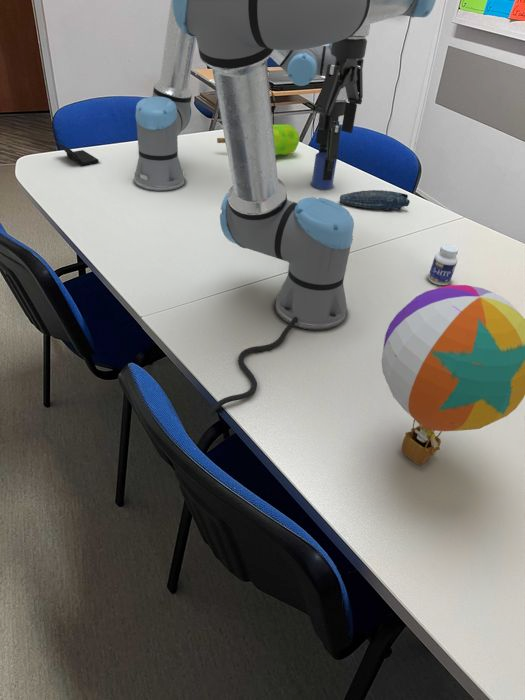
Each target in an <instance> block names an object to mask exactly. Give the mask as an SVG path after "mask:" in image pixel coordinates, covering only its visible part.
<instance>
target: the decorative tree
mask: <svg viewBox="0 0 525 700" xmlns="http://www.w3.org/2000/svg"><path fill="white" fill-rule="evenodd" d="M273 133H274V144H275V155H276V156H277V155H278V156H279V155H280V156H289V155H290V154H292V153H295V151H296V150H297V148H298V145H299V143H300V134H299V131H298V130H296V129H295V127H294V126H293V125H291V124H273ZM216 142H217V144H226V143H225V137H217V138H216Z"/></svg>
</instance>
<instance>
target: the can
mask: <svg viewBox="0 0 525 700" xmlns="http://www.w3.org/2000/svg"><path fill="white" fill-rule="evenodd" d="M324 158H327V153H326V152H321V153H319V152H317V153H315V157H314V165H313V172H312V179H311V186H312V187H313V188H314V189H318V190H330V189H332V188H333V185H334V178H335V172H336V166H337V161H338V159H337V160H334V166H333V172H332V178H331V180H323V172H324V165H325V160H324Z"/></svg>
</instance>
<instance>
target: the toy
mask: <svg viewBox="0 0 525 700" xmlns="http://www.w3.org/2000/svg"><path fill="white" fill-rule="evenodd" d="M381 369H382V370H381V371H382V373H383V376H384V379H385V381H386V384H387V386H388V388H389V391H390V392H391V395H392V397H393V398H394V400H395V401H396V403H398V404H399V405H400V407H401V408H402V409H403V410H404V411H405V412H406V413H407V414H408V415H409V416H410V417H411V418H412V419H413V421H412V422H413V423H412V428H411V429H410V431H406V432H405V434H404V435H405V436H404V438H403V441H402V445H401V453H402V454H403V455H404V456H406V457H407V458H408V459H410V461H412V462H413V463H415V464H416V465H417V466H419V467H420V466H422V465H424V464H425V463H426V462H427V461H428V460H430V459H431V458H432V457H434V456H435V454H436V453H437V451H440V449H441V447H440V446H441V443H442V440H441V439H440V438H439V436H441V434H442V432H461V431H462V432H463V431H473V430H480V429H483V428H484V427H486V426H488V425H491V424H493V423H496V422H498V421H499V420H501V419H503V418H507V416H509V415H510V414H511V413H513V412H514V411H515V410H516V409H518V407H519V405H520V404H521V403H522V401H523V400H524V398H525V317H524V316H523V315H522V314H521V313H520V311H518V309H517V308H516V307H515V305H513V304H512V302H510V301H509V300H507V299H506V298H504V297H503V296H501V295H499V294H497V293H496V292H493V291H490V290H488V289H485V288H482V287H479V286H473V285H467V284H447V285H443V286H440V287H436V288H433V289H430V290H426V291H424V292H423V293H420V294H419V295H417V296H415V297H414V298H413V299H412V300H410V301H409V302H408V303H407V304H406V305H405V306H404V307H403V308H402V309H400V310H399V311H398V312H397V313H396V314H395V316H394V317H393V318H392V320H391V322H390V323H389V324H388V327H387V329H386V332H385V335H384V342H383V350H382V355H381ZM415 423H417V424H418V425H417V426H416V427H415ZM435 431H436V432H439V433H438V434H437V435H436V433H435Z"/></svg>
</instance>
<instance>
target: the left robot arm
mask: <svg viewBox="0 0 525 700" xmlns="http://www.w3.org/2000/svg"><path fill="white" fill-rule="evenodd" d="M196 44H197V40H196V37H195V36H189V35H188V34H186V33H184V32H183V30H181V29H180V28H179V26H178V25H177V22H176V20H175V17H174V13H173V6H172V0H170V4H169V11H168V18H167V25H166V33H165V41H164V47H163V56H162V63H161V69H160V78H159V80H158V81H156V82H155V83H154V84H153V90H152V96H148V97H144V98H142V99H139V101H137V103H136V106H135V121H136V122H135V123H136V131H137V132H136V135H137V148H138V160H137V164H136V166H135V167H136V168H135V171H134V183H135V185H136V186H137V187H139V188H142V189H145V190H149V191H155V192H165V191H173V190H177V189H179V188H181V187H183V186H184V185H185V174H184V171H183V168H182V165H181V162H180V159H179V149H178V148H179V147H178V136H179V135H180V134H181V133H182V131H184V130H185V129H186V128H187V127H188V126H189V123H190V121H191V118H192V106H191V102H192V98H193V97H192V96H193V93H192V92H191V90H190V88H189V85H190V79H191V74H192V66H193V63H194V56H195V49H196ZM331 46H332V43H330V44H328V45H322V46H318V47H313V48H307V49H300V50H274V52H273V54H272V55H271V56H270V57H269V58H270V59H272V60H273V61H274V62H275V64H277V65H278V67H280V68H281V70H283V71H284V72H285V73H286V74H287V76H288V78H289V80H290V82H291V83H293V84H294V85H296V86H299V87H305V86H306V85H309V84H310V83H311V82H312V81H313V80H314V79H315V77H316V76H319V77H320V76H321V77H325V76H326V72H327V66H328V64H334V65H335V62H336V57H335V56H333V55H332V54H331ZM346 103H348V98H347V93H346V88H345V86H344V88H342V89H341V90H340V92H339V94H338V97H337V99H336V101H335V103H334V106H333V108H332V110H331V112H330V115H332V117H331V124H330V130H329V137H328V144H327V145H322V144H319V143H317V145H318V153H321V152H326V153H327V158H324V160H325V165H324V172H323V180H331V178H332V172H333V166H334V160H337V161H338V155H339V154H338V153H339V145H340V135H341V132H342V131H341V130H342V125H340V121H339V117H342V116H343V117H344V111H345V105H346Z"/></svg>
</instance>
